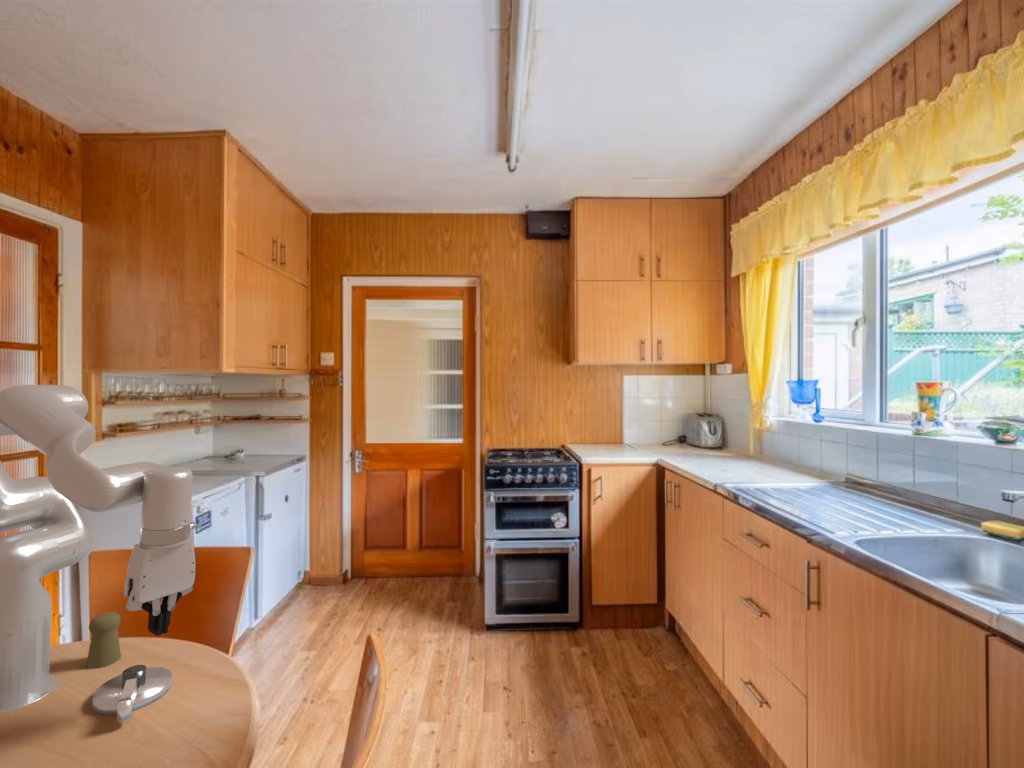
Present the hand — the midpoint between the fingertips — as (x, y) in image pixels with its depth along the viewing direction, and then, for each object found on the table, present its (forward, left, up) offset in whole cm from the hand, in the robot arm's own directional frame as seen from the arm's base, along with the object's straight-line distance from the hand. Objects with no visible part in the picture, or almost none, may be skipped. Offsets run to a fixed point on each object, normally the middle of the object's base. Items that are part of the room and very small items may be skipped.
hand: (158, 632), depth 90 cm
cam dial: (-5, +1, -14) cm, 15 cm away
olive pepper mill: (-20, +14, -15) cm, 29 cm away
